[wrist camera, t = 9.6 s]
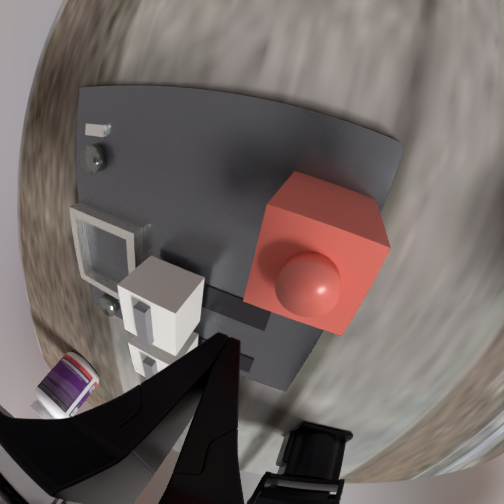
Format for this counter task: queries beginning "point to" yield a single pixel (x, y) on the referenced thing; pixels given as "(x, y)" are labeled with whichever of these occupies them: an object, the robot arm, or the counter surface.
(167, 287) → the block
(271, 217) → the red block with knob
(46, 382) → the pill bottle
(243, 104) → the panel
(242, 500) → the robot arm
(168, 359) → the breaker
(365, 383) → the counter surface
